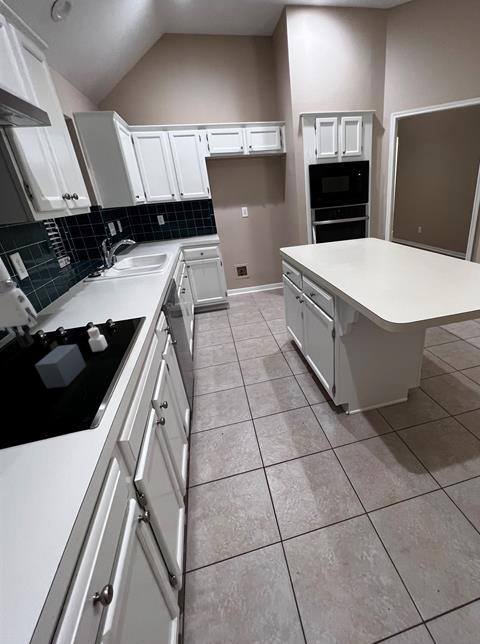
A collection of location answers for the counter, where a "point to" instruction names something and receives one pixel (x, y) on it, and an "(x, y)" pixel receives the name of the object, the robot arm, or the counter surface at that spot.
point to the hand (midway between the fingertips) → (28, 344)
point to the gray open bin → (61, 366)
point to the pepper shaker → (96, 340)
